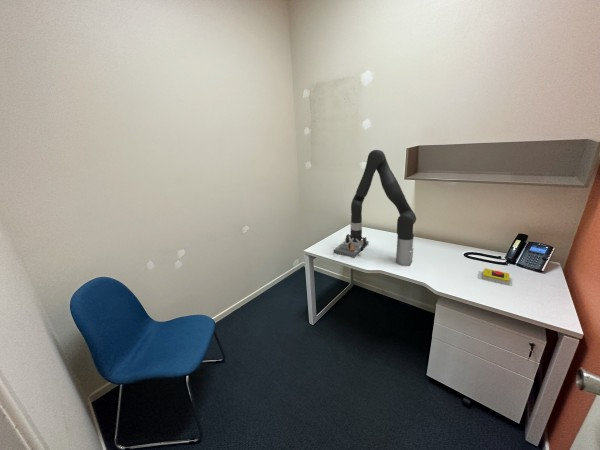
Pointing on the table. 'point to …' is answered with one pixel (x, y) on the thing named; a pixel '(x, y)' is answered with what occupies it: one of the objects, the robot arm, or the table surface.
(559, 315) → the table surface
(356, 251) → the panel
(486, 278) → the emergency button
